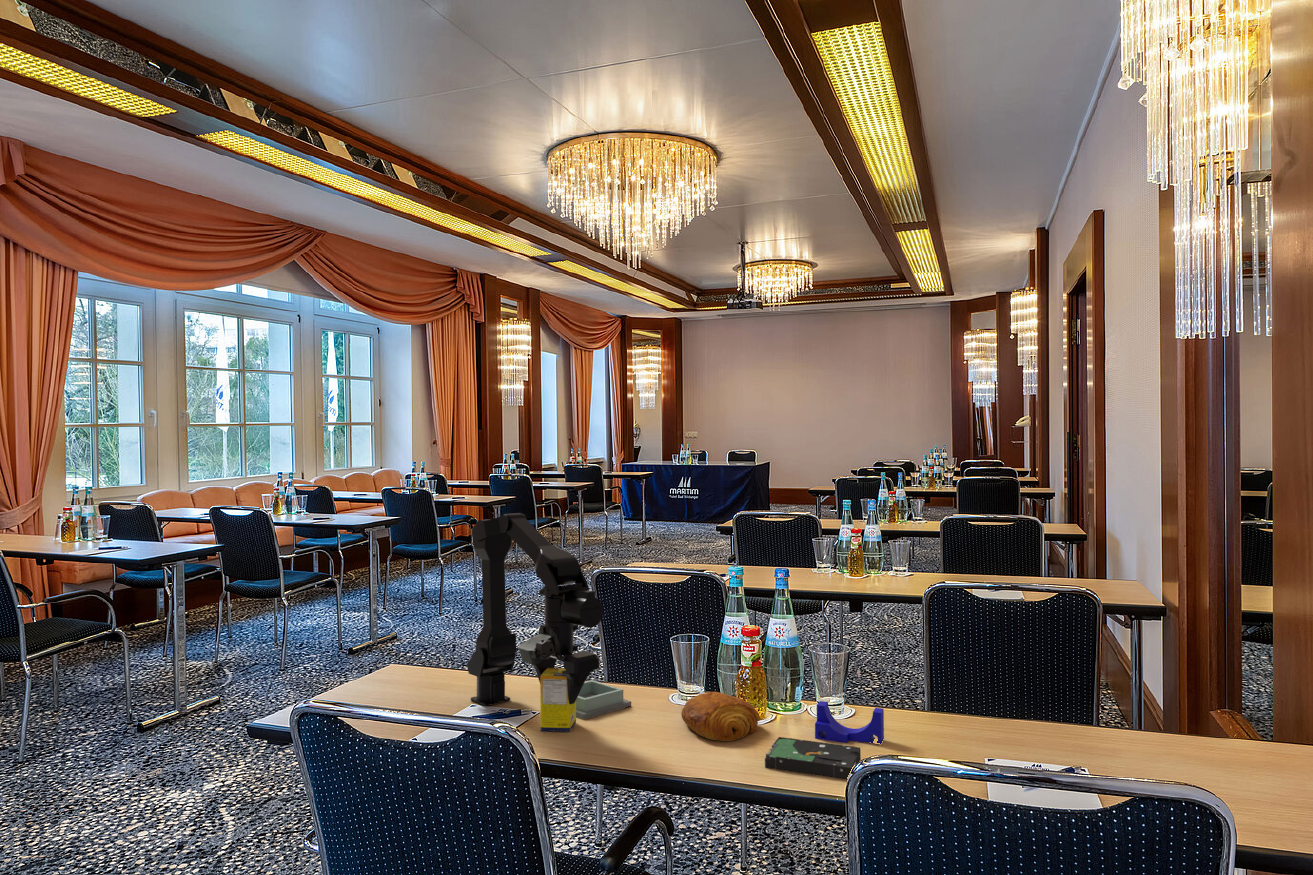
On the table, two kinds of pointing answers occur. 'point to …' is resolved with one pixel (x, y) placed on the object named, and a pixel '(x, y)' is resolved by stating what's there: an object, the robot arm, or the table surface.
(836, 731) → the blue u-shaped cradle
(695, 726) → the croissant
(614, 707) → the socket holder
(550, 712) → the supplement box
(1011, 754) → the table surface
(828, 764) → the disk drive
